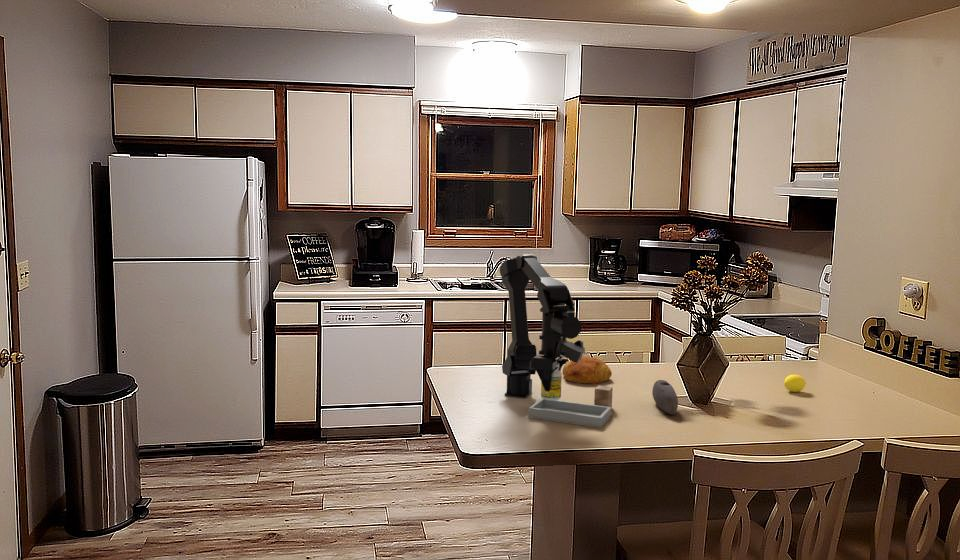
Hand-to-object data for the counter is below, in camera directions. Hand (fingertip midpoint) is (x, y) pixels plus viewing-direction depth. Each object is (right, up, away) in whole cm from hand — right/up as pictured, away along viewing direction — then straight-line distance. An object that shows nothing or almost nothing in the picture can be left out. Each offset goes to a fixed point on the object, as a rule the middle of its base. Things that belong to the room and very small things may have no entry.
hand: (550, 388), depth 214 cm
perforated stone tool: (+32, -7, +7) cm, 34 cm away
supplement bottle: (0, -3, 0) cm, 3 cm away
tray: (+5, -7, -1) cm, 9 cm away
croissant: (+14, -3, +40) cm, 42 cm away
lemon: (+76, -5, +29) cm, 82 cm away
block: (+15, -7, +7) cm, 18 cm away
